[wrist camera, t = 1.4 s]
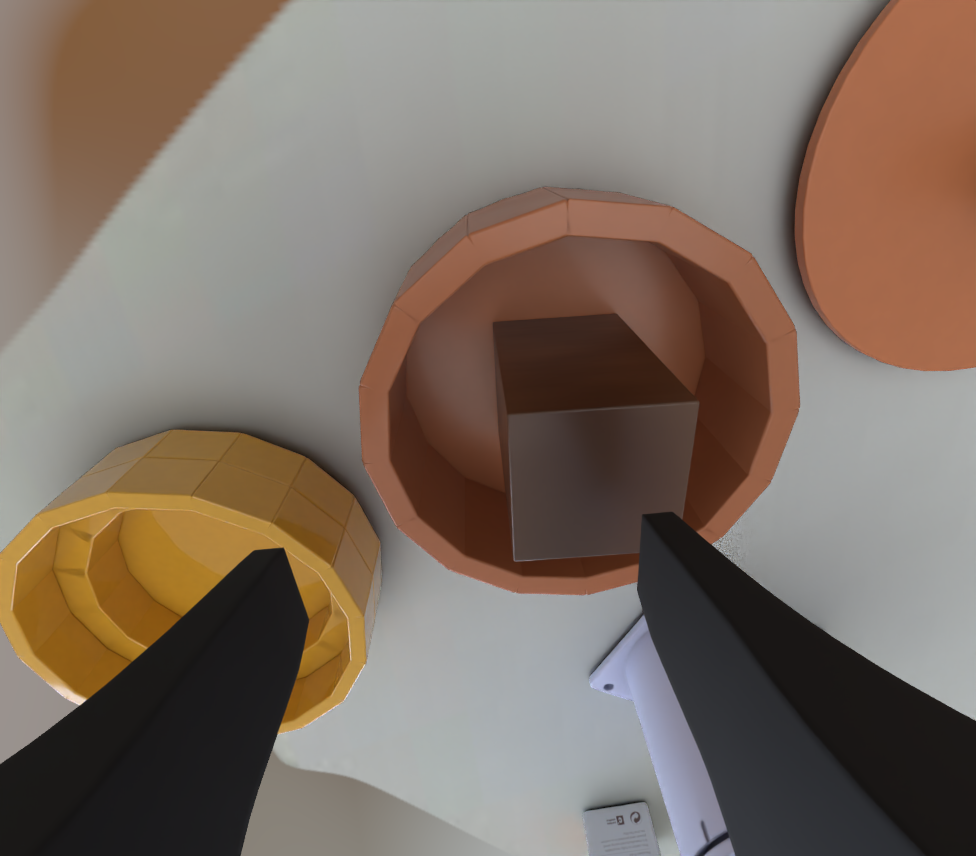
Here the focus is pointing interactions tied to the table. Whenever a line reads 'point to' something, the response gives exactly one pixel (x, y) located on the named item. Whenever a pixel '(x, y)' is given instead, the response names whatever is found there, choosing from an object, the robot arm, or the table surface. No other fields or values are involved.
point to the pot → (566, 293)
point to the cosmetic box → (621, 831)
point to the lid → (897, 191)
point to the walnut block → (587, 435)
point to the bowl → (188, 560)
